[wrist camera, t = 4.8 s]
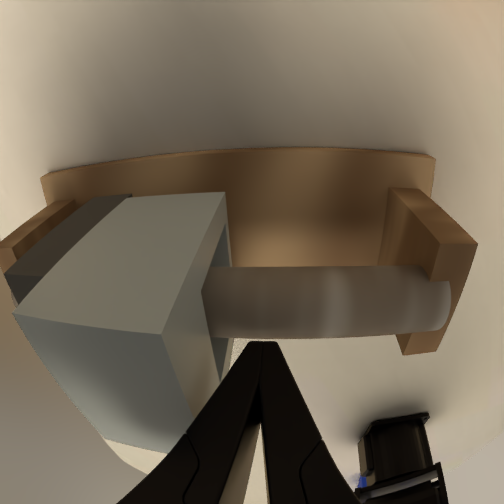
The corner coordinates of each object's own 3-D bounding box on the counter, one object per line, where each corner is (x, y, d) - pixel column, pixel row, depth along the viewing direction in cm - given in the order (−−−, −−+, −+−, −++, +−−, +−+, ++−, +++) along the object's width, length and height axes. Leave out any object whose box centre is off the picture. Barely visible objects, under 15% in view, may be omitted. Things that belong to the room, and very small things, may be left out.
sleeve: (225, 191, 11) (160, 334, 5) (237, 317, 14) (213, 460, 8) (126, 197, 11) (12, 313, 5) (157, 314, 14) (104, 438, 8)
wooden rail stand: (428, 154, 12) (519, 214, 6) (402, 291, 16) (443, 387, 10) (48, 173, 14) (-39, 228, 8) (84, 288, 18) (31, 364, 12)
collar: (132, 193, 12) (44, 276, 6) (160, 307, 15) (117, 406, 9) (93, 197, 12) (3, 273, 7) (126, 305, 15) (77, 396, 10)
